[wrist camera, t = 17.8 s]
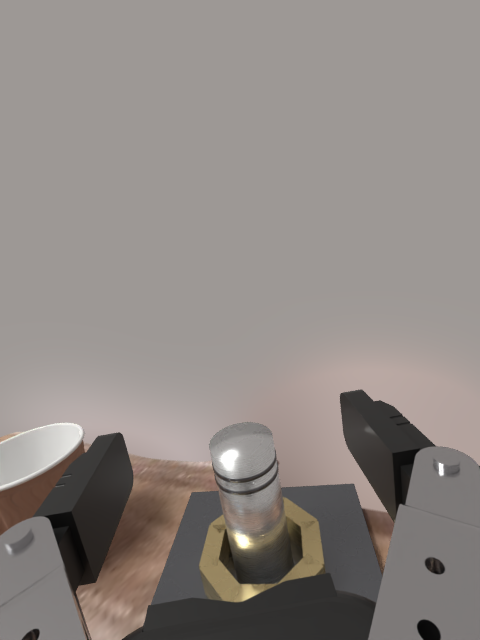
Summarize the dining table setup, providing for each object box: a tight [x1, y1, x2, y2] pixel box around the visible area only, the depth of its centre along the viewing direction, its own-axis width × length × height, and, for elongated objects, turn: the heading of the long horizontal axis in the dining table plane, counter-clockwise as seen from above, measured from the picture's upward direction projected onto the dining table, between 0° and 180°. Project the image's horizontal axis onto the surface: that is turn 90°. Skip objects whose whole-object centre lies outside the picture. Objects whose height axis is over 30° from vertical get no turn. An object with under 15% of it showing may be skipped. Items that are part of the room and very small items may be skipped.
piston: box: [209, 422, 294, 584], centre depth 25 cm, size 5×5×12 cm
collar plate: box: [143, 484, 382, 626], centre depth 26 cm, size 18×18×3 cm
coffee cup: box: [0, 423, 85, 536], centre depth 31 cm, size 10×10×12 cm
